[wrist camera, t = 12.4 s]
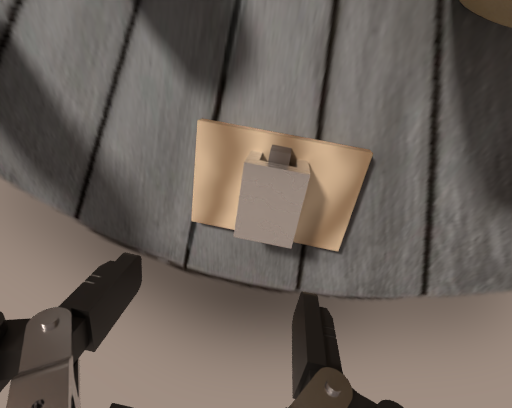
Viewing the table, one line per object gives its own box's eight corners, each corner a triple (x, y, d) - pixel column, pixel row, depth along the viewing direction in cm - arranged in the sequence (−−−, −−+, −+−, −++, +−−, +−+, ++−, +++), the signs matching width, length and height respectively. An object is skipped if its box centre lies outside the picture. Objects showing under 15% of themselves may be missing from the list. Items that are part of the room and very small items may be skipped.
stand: (195, 215, 34) (183, 231, 30) (202, 118, 29) (189, 123, 25) (336, 244, 33) (341, 264, 30) (369, 149, 28) (380, 159, 24)
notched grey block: (241, 216, 32) (233, 236, 27) (251, 150, 28) (244, 162, 24) (291, 226, 31) (291, 248, 27) (308, 161, 28) (310, 174, 24)
